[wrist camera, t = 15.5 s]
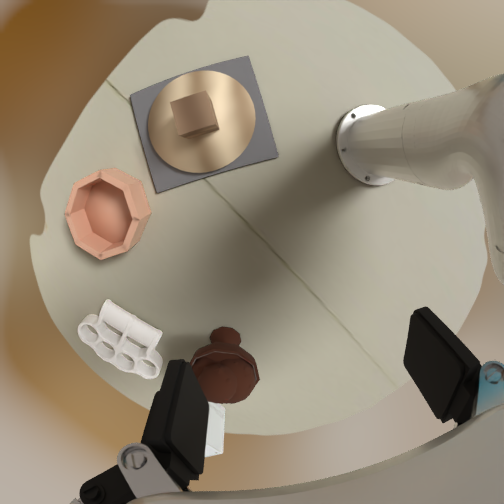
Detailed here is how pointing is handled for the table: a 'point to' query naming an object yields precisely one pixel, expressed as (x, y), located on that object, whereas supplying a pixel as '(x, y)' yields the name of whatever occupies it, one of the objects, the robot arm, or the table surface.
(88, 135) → the table surface
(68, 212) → the terracotta bowl
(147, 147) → the rubber mat
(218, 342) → the ice cream bowl
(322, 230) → the table surface
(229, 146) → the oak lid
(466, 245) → the table surface
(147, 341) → the white holed part
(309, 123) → the table surface
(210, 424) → the supplement box
